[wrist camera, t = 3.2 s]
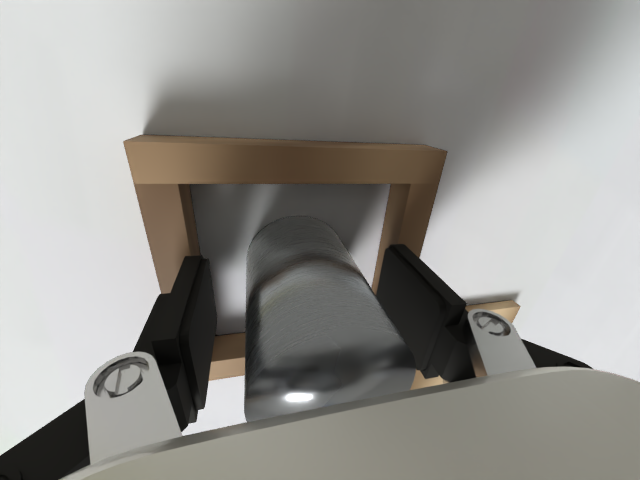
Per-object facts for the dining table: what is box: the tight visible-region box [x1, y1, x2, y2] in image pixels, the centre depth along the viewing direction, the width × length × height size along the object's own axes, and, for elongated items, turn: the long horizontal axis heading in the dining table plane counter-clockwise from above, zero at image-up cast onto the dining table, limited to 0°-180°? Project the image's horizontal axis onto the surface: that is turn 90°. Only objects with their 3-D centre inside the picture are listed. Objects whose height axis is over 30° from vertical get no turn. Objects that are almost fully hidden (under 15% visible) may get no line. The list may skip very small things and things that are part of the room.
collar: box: [123, 135, 447, 381], centre depth 12 cm, size 10×10×2 cm
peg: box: [244, 216, 416, 422], centre depth 10 cm, size 4×4×6 cm
